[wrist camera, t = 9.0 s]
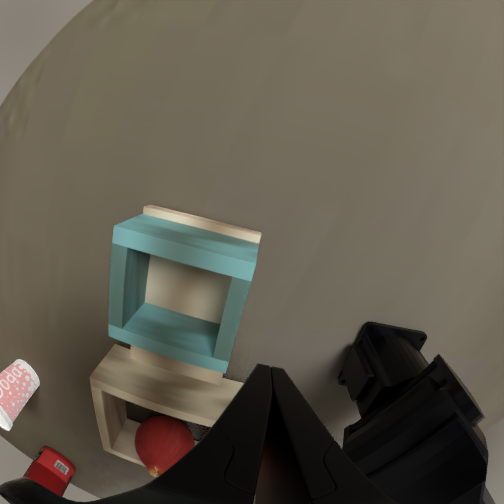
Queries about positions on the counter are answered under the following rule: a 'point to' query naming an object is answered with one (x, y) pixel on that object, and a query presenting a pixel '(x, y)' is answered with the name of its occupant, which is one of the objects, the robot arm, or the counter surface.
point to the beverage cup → (15, 390)
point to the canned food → (51, 470)
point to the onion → (162, 442)
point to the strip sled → (171, 321)
